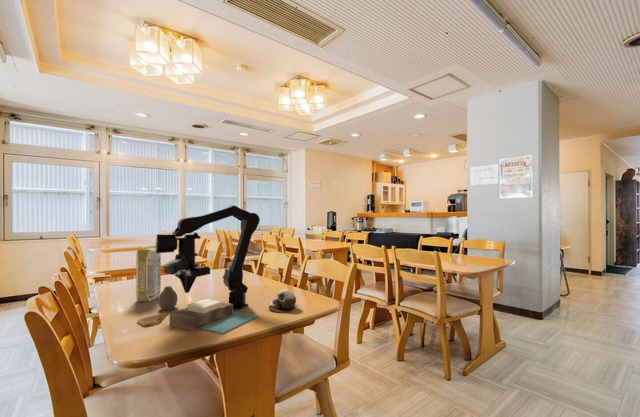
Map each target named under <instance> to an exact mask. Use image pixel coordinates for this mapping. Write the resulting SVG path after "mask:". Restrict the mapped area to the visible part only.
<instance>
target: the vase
mask: <svg viewBox="0 0 640 417" xmlns="http://www.w3.org/2000/svg"><path fill="white" fill-rule="evenodd" d="M177 303H178V294H177V292H176V291H175V290H174V288H173V287H172V286H170V285H168V286H165V287H164V289H163V290H162V291H161V292H160V296H159V297H158V305H159V307H160V309H161V310H163V311H169V310H173V309H174V308H175V307H176V306H177Z"/></svg>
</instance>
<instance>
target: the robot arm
mask: <svg viewBox="0 0 640 417" xmlns="http://www.w3.org/2000/svg"><path fill="white" fill-rule="evenodd" d="M231 217H233V218H235V219H237V220H238V221H240V235H239V239H238V243H237V245H236V248H235V252H234V254H233V255H234V256H233V259H232V263H231V264H230V265H231V266H230V267H229V268H225V269H224V274H223V276H222V277H221V279H223V282H222V283H223V285H224V286H226V287H227V289H228V290H229V291H230V292H229V294H228V303H232V304H233V310H241V309H243V308H245V307H247V306H249V303H246V293H247V292H248V289H249V287H248V286H247V285H245V284H244V283H243V279H244V271H243V267H244V264H245V260H246V257H247V253H248V249H249V245H250V242H251V239H252V236H253V234H254V233H255V231H256V230H257V229H258V226H259V223H260V216H259V215H258V213H255V212H249V211H248V210H245V209H242V208H240V207H238V206H237V205H229V206H227V207H225V208H224V207H223V208H221V209H218V210H215V211H212V212H209V213H206V214H202V215H197V216H190V217H182V218H181V219H180V220H179V221H178V222H177V226H176V228H175V229H174V231H173V232H172V233H171V234H170V233H169V234H167V233H166V234H162V233H160V234H159V233H158V234H156V241H155V248H156V253H161V254H164V253H166V254H167V253H174V252H175V251H176V250H178V253H177V254H175V256H174V259H172V260H171V261H168V262H167V263H165V264H163V272H164V274H165V275H174V276H175V277H176V278H178V279H179V280H180V283H181V285H182V288H183V290H184V293H186V294H188V293H189V292H190V291H191V288H192V287H193V284H194V283H195V281H196V280H197V278H198V277H203V276H206V275H207V276H208V275H210V274H211V268H210V266H205V265H199V264H198V263H196V257H198V253H197V252H196V239H197V240H200V239H201V236H200V235H199V234H198V233H197V232H195V231H198V230H200V229H202V228H203V227H204V226H206V225H208V224H211V223H214V222H217V221H220V220H221V221H222V220H224V219H226V218H231ZM192 233H193V234H192ZM183 236H184V237H183ZM198 265H199V266H198Z"/></svg>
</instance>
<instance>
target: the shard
mask: <svg viewBox="0 0 640 417" xmlns="http://www.w3.org/2000/svg"><path fill="white" fill-rule="evenodd" d="M167 313H168V311H166V312H162V313H159V314H154V315H151V316H146V317H142V318H140V319H138V320H136V323H137V324H138V323H139V325H141V326H142V327H147V326H151V325H152V326H153V325H159V324H160V323H161V321H163V320H164V318H166V316H167Z"/></svg>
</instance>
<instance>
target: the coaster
mask: <svg viewBox="0 0 640 417" xmlns="http://www.w3.org/2000/svg"><path fill="white" fill-rule="evenodd" d="M221 302H222V301H219V300H216V299H215V300H214V299H208V298H204V299H202V300H199V301H195V302H192V303H189V304H187V307H188V310H189V311H194V312H199V313H207V312H210V311H212V310H215V309H217V308H220V307H221Z"/></svg>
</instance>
